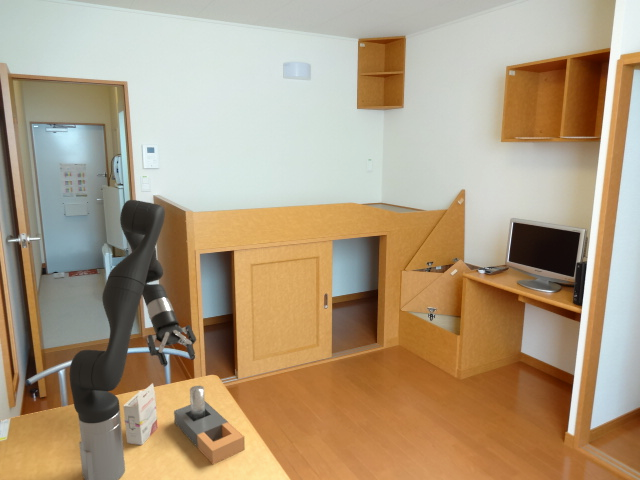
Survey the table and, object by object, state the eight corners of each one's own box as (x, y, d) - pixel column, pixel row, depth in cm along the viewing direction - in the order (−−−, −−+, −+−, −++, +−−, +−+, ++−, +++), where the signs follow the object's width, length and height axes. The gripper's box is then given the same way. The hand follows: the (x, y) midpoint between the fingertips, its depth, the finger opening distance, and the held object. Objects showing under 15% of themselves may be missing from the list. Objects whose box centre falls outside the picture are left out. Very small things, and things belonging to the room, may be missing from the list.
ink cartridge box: (142, 425, 140) (139, 380, 137) (158, 427, 139) (155, 382, 136) (125, 443, 132) (121, 395, 129) (141, 446, 131) (138, 397, 128)
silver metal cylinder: (195, 431, 137) (193, 394, 135) (189, 425, 140) (187, 388, 138) (208, 426, 140) (206, 389, 137) (201, 420, 143) (200, 384, 140)
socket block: (213, 464, 124) (212, 450, 123) (174, 422, 141) (174, 410, 141) (244, 449, 130) (244, 436, 129) (204, 411, 147) (203, 399, 147)
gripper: (142, 315, 144) (159, 363, 138) (186, 304, 153) (204, 349, 147) (137, 326, 149) (153, 373, 143) (180, 315, 158) (197, 359, 152)
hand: (179, 361), depth 145 cm, fingers open, 8 cm apart
